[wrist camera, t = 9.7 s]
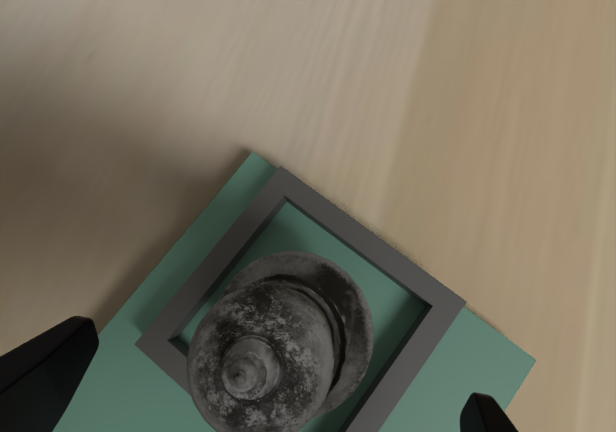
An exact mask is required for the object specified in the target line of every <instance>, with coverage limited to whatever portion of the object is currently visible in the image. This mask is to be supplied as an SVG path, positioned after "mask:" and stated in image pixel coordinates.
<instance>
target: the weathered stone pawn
mask: <svg viewBox="0 0 616 432" xmlns="http://www.w3.org/2000/svg"><path fill="white" fill-rule="evenodd" d="M373 338H374V329H373V323H372V317H371V311H370V308H369V306H368V304H367V301H366V299H365V297H364V295H363V293H362V290H361V289H360V288H359V286H358V285H357V284H356V283H355V281H354V280H353V279H352V278H351V276H350V275H349V274H348V273H347V272H346V271H344V270H343V269H342V268H340V267H339V266H338V265H336V264H335V263H334V262H332V261H331V260H328V259H326V258H323V257H321V256H318V255H316V254H313V253H307V252H299V251H286V252H279V253H273V254H270V255H267V256H265V257H263V258H260V259H258V260H256V261H253V262H252V263H250V264H249V265H248V266H247V267H245V268H244V269H243V270H241V271H240V272H239V273H238V274H236V276H235V277H234V278H233V279H232V281H231V282H230V283H229V285H228V286H227V287H226V288H225V290H224V291H223V293H222V295H221V298H220V300H219V301H218V302H217V303H215V304H214V305H213V306H212V307H211V308H210V309H209V311H208V312H207V313H206V315H205V316H204V317H203V318H202V320H201V321H200V322H199V324H198V326H197V328H196V330H195V332H194V335H193V337H192V339H191V342H190V345H189V351H188V356H187V362H186V367H187V384H188V387H189V390H190V394H191V397H192V400H193V403H194V405H195V407H196V408H197V410H198V411H199V413H200V414H201V416H202V418H203V419H204V421H205V422H206V423H208V424H209V425H210V426H211V427H212V428H213V429H214V430H215V431H216V432H297V431H299V430H300V429H301V428H302V427H303V426H304V425H305V424H307V423H308V422H309V421H310V420H311V419H314V418H316V417H318V416H321V415H323V414H325V413H327V412H329V411H332V410H334V409H335V408H336V407H338V406H339V405H340V404H341V403H342V402H344V401H345V400H346V399H347V398H348V397H349V396H351V395H352V394H353V392H354V391H355V389H356V388H357V386H358V385H359V383H360V382H361V380H362V379H363V377H364V376H365V373H366V370H367V367H368V365H369V362H370V359H371V356H372V350H373Z"/></svg>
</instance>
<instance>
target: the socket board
mask: <svg viewBox="0 0 616 432" xmlns="http://www.w3.org/2000/svg"><path fill="white" fill-rule="evenodd" d="M286 251H299V252H307V253H313V254H316V255H318V256H321V257H323V258H326V259H328V260H331V261H332V262H334V263H335V264H336V265H338V266H339V267H340V268H342V269H343V270H344V271H346V272H347V273H348V274H349V275H350V276H351V278H352V279H353V280H354V281H355V283H356V284H357V285H358V286H359V288H360V289H361V290H362V293H363V295H364V297H365V299H366V301H367V304H368V306H369V308H370V311H371V317H372V323H373V329H374V338H373V350H372V356H371V359H370V362H369V365H368V367H367V370H366V373H365V376H364V377H363V379H362V380H361V382H360V383H359V385H358V386H357V388H356V389H355V391H354V392H353V394H352V395H351V396H349V397H348V398H347V399H346V400H345V401H344V402H342V403H341V404H340V405H339V406H338V407H336V408H335V409H334V410H332V411H329V412H327V413H325V414H323V415H321V416H318V417H316V418H314V419H311V420H310V421H309V422H308V423H307V424H305V425H304V426H303V427H302V428H301V429H300V430H299V431H297V432H460V414H461V411H462V409H463V407H464V406H465V404H466V402H467V400H468V398H469V396H470V395H471V394H472V393H473V392H477V393H482V394H487V395H490V396H492V397H493V398H494V399H495V400H496V401H497V403H498V404H499V405H500V407H501V408H502V410H503V411H505V409H506V408H507V406H508V405H509V403H510V401H511V400H512V398H513V397H514V395H515V393H516V392H517V390H518V389H519V387H520V386H521V384H522V382H523V381H524V379H525V378H526V376H527V374H528V373H529V371H530V370H531V368H532V367H533V365H534V363H535V362H536V359H534V358H533V357H532V356H530V355H529V354H528V353H526V352H525V351H523V350H522V349H521V348H519V347H518V346H517V345H515V344H514V343H513V342H511V341H510V340H508V339H507V338H506V337H504V336H503V335H502V334H500V333H499V332H498V331H496V330H495V329H494V328H492V327H491V326H489V325H488V324H487V323H485V322H484V321H483V320H481V319H480V318H479V317H477V316H476V315H474V314H473V313H472V312H470V311H469V310H468V309H466V308H465V307H464V305H465V304H466V301H465V300H464V299H462V298H461V297H460V296H458V295H457V294H455V293H454V292H453V291H451V290H450V289H449V288H447V287H446V286H444V285H443V284H442V283H440V282H439V281H438V280H436V279H435V278H434V277H432V276H431V275H429V274H428V273H427V272H425V271H424V270H423V269H421V268H420V267H419V266H417V265H416V264H414V263H413V262H412V261H410V260H409V259H408V258H406V257H405V256H403V255H402V254H401V253H399V252H398V251H397V250H395V249H394V248H393V247H391V246H390V245H388V244H387V243H386V242H384V241H383V240H382V239H380V238H379V237H377V236H376V235H375V234H373V233H372V232H371V231H369V230H368V229H367V228H365V227H364V226H362V225H361V224H360V223H358V222H357V221H356V220H354V219H353V218H351V217H350V216H349V215H347V214H346V213H345V212H343V211H342V210H341V209H339V208H338V207H336V206H335V205H334V204H332V203H331V202H330V201H328V200H327V199H325V198H324V197H323V196H321V195H320V194H319V193H317V192H316V191H315V190H313V189H312V188H310V187H309V186H308V185H306V184H305V183H304V182H302V181H301V180H300V179H298V178H297V177H295V176H294V175H293V174H291V173H290V172H289V171H287V170H286V169H284V168H283V167H282V166H280V168H279V169H278V170H277V169H276V168H274V167H273V166H272V165H270V164H269V163H268V162H266V161H265V160H264V159H262V158H261V157H259V156H258V155H257V154H255V153H254V152H252V153H251V154H250V155H249V157H248V158H247V159H246V160H245V161H244V163H243V164H242V165H241V166H240V167H239V169H238V170H237V171H236V172H235V173H234V174H233V176H232V177H231V178H230V179H229V180H228V182H227V183H226V184H225V185H224V186H223V187H222V189H221V190H220V191H219V192H218V193H217V195H216V196H215V197H214V198H213V199H212V201H211V202H210V203H209V204H208V205H207V206H206V208H205V209H204V210H203V211H202V212H201V214H200V215H199V216H198V217H197V218H196V220H195V221H194V222H193V223H192V224H191V225H190V227H189V228H188V229H187V230H186V231H185V233H184V234H183V235H182V236H181V237H180V239H179V240H178V241H177V242H176V243H175V244H174V246H173V247H172V248H171V249H170V250H169V252H168V253H167V254H166V255H165V256H164V257H163V259H162V260H161V261H160V262H159V263H158V265H157V266H156V267H155V268H154V269H153V271H152V272H151V273H150V274H149V275H148V276H147V278H146V279H145V280H144V281H143V282H142V284H141V285H140V286H139V287H138V288H137V290H136V291H135V292H134V293H133V294H132V295H131V297H130V298H129V299H128V300H127V301H126V303H125V304H124V305H123V306H122V307H121V309H120V310H119V311H118V312H117V313H116V314H115V316H114V317H113V318H112V319H111V320H110V322H109V323H108V324H107V325H106V326H105V327H104V329H103V330H102V331H101V332H100V333H99V335H98V338H99V347H98V350H97V352H96V354H95V356H94V358H93V360H92V361H91V363H90V365H89V367H88V369H87V371H86V373H85V375H84V377H83V379H82V381H81V383H80V385H79V386H78V388H77V390H76V392H75V394H74V396H73V398H72V400H71V402H70V404H69V405H68V407H67V409H66V411H65V413H64V414H63V416H62V417H61V419H60V421H59V422H58V424H57V425H56V427H55V428H54V430H53V432H216V431H215V430H214V429H213V428H212V427H211V426H210V425H209V424H208V423H206V422H205V421H204V419H203V418H202V416H201V414H200V413H199V411H198V410H197V408H196V407H195V405H194V403H193V400H192V397H191V394H190V390H189V387H188V384H187V367H186V362H187V356H188V351H189V345H190V342H191V339H192V337H193V335H194V332H195V330H196V328H197V326H198V324H199V322H200V321H201V320H202V318H203V317H204V316H205V315H206V313H207V312H208V311H209V309H210V308H211V307H212V306H213V305H214V304H215V303H217V302H218V301H219V300H220V298H221V295H222V293H223V291H224V290H225V288H226V287H227V286H228V285H229V283H230V282H231V281H232V279H233V278H234V277H235V276H236V274H238V273H239V272H240V271H241V270H243V269H244V268H245V267H247V266H248V265H249V264H250V263H252V262H253V261H256V260H258V259H260V258H263V257H265V256H267V255H270V254H273V253H279V252H286Z"/></svg>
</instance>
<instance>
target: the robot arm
mask: <svg viewBox="0 0 616 432" xmlns="http://www.w3.org/2000/svg"><path fill="white" fill-rule="evenodd" d="M98 347H99V338H98V335H97V331H96V328H95V325H94V322H93V320H92V319H90V318H86V317H81V316H73V317H71V318H69V319H67V320H65V321H63V322H61V323H60V324H58V325H56V326H54V327H53V328H51V329H49V330H47V331H45V332H44V333H42V334H40V335H38V336H36V337H35V338H33V339H31V340H29V341H27V342H26V343H24V344H22V345H20V346H19V347H17V348H15V349H13V350H11V351H10V352H8V353H6V354H4V355H2V356H1V357H0V432H53V430H54V428H55V427H56V425H57V424H58V422H59V421H60V419H61V417H62V416H63V414H64V413H65V411H66V409H67V407H68V405H69V404H70V402H71V400H72V398H73V396H74V394H75V392H76V390H77V388H78V386H79V385H80V383H81V381H82V379H83V377H84V375H85V373H86V371H87V369H88V367H89V365H90V363H91V361H92V360H93V358H94V356H95V354H96V352H97V350H98ZM460 432H518V430H517V429H516V428H515V426H514V425H513V423H512V422H511V421H510V419H509V418H508V417H507V415H506V414H505V412H504V411H503V410H502V408H501V407H500V405H499V404H498V403H497V401H496V400H495V399H494V398H493V397H492V396H490V395H487V394H482V393H477V392H473V393H472V394H471V395H470V396H469V398H468V400H467V402H466V404H465V406H464V407H463V409H462V411H461V414H460Z"/></svg>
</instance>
